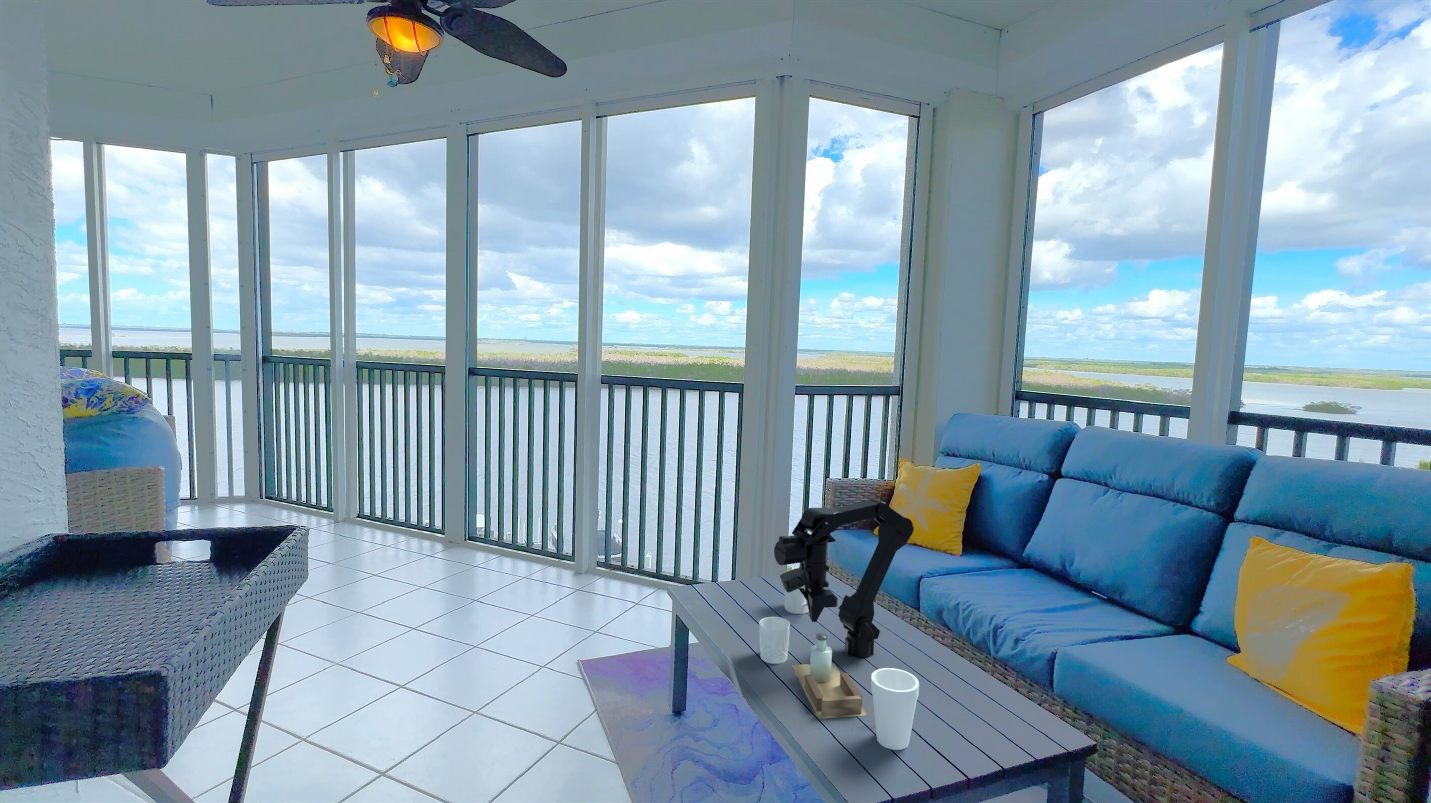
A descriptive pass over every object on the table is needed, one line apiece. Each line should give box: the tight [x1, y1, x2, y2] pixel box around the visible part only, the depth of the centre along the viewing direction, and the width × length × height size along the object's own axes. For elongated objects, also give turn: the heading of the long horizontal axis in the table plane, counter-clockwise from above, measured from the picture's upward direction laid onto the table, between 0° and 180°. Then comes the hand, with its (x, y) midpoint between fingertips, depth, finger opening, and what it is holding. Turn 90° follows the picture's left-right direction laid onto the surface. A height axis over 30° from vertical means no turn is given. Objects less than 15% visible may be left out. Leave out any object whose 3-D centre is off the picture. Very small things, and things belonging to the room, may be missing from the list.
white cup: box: [758, 616, 791, 665], centre depth 161 cm, size 8×8×10 cm
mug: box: [784, 587, 809, 615], centre depth 192 cm, size 12×8×10 cm, turn 21°
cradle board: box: [791, 662, 868, 720], centre depth 147 cm, size 11×23×4 cm, turn 8°
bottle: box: [809, 632, 833, 683], centre depth 152 cm, size 5×5×10 cm
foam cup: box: [870, 667, 920, 751], centre depth 129 cm, size 10×9×13 cm
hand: (813, 620), depth 158 cm, fingers closed
